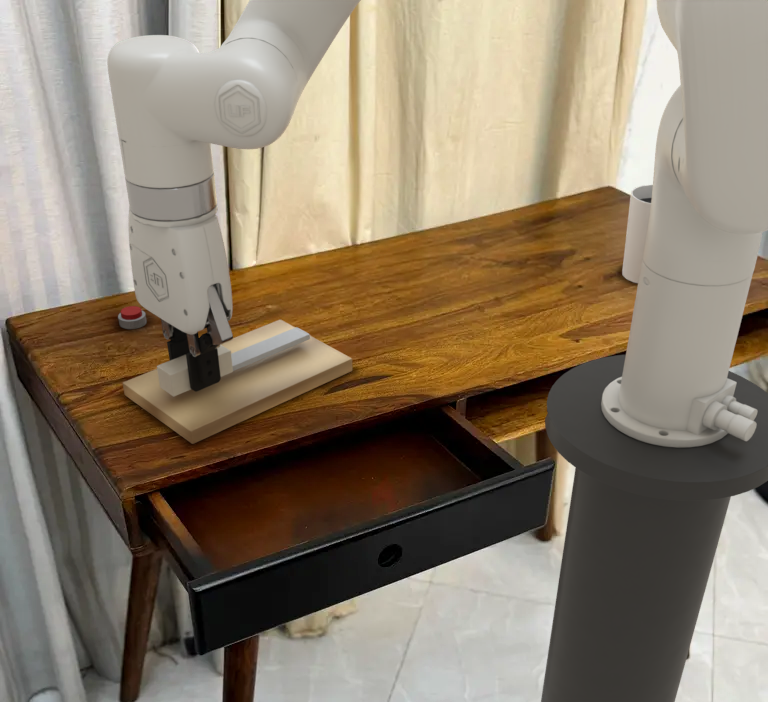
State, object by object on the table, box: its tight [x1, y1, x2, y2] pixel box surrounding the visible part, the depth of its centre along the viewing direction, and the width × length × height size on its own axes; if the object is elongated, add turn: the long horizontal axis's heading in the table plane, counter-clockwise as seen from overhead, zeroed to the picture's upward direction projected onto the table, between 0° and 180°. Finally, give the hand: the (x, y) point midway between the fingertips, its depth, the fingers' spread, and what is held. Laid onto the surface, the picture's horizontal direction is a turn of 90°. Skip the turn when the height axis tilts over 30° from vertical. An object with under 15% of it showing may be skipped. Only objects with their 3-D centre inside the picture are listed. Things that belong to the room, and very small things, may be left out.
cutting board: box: [122, 319, 353, 445], centre depth 100 cm, size 12×20×2 cm, turn 133°
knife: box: [156, 326, 311, 397], centre depth 99 cm, size 17×2×2 cm, turn 133°
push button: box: [117, 305, 148, 330], centre depth 111 cm, size 3×3×2 cm
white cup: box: [621, 184, 653, 284], centre depth 118 cm, size 7×7×10 cm
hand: (196, 378), depth 96 cm, fingers closed on knife, 2 cm apart
